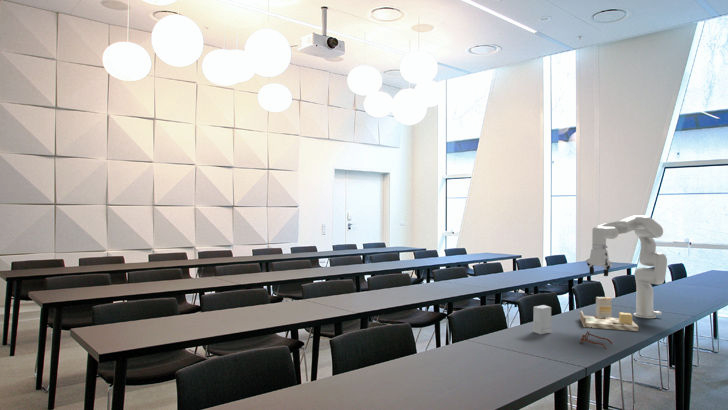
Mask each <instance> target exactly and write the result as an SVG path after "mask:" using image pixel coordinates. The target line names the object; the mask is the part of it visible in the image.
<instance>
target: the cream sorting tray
mask: <svg viewBox="0 0 728 410" xmlns="http://www.w3.org/2000/svg"><path fill="white" fill-rule="evenodd" d="M579 320H580V322H581V324H582V326H583V328H591V327H592V329H593V328H594V329H607V330H619V331H631V332H632V331H634V332H639V329H640V327H639V325H638V324H637V323H636V322H635V321H634V320H633V319H632V324H629V323H621V322H620V321H619V317H612V318H610V317H596V315H594V316H593V315H585V314H584V312H583V310H579Z"/></svg>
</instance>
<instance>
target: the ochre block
mask: <svg viewBox="0 0 728 410" xmlns="http://www.w3.org/2000/svg"><path fill="white" fill-rule="evenodd" d="M618 318H619V321H620V322H621V323H629V324H632V320H633V314H632V313H631V312H622V311H621V312H620V311H619V312H618Z"/></svg>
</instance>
